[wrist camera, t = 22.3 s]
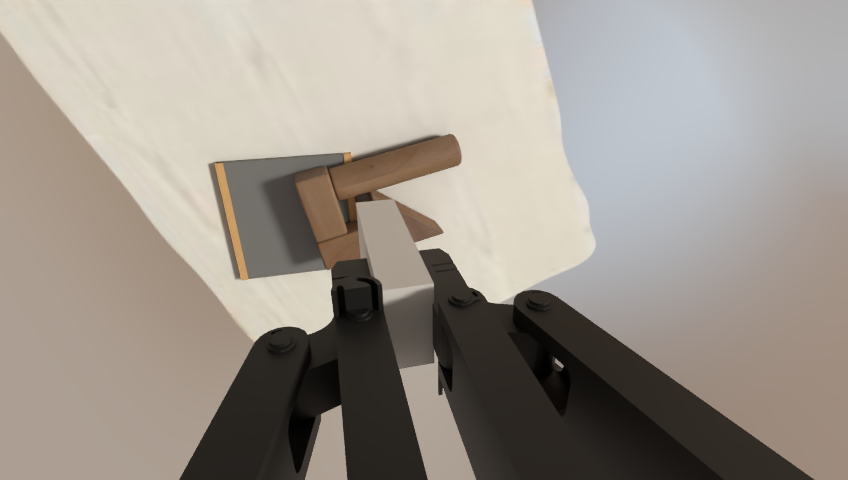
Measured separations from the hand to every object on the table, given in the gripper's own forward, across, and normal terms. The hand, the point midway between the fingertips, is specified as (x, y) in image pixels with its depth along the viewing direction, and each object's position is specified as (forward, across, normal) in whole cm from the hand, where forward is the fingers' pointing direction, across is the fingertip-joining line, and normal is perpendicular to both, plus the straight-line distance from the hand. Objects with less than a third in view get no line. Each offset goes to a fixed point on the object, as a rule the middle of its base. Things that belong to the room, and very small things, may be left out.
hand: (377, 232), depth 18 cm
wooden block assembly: (+30, -4, -12) cm, 32 cm away
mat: (+32, -6, -12) cm, 35 cm away
